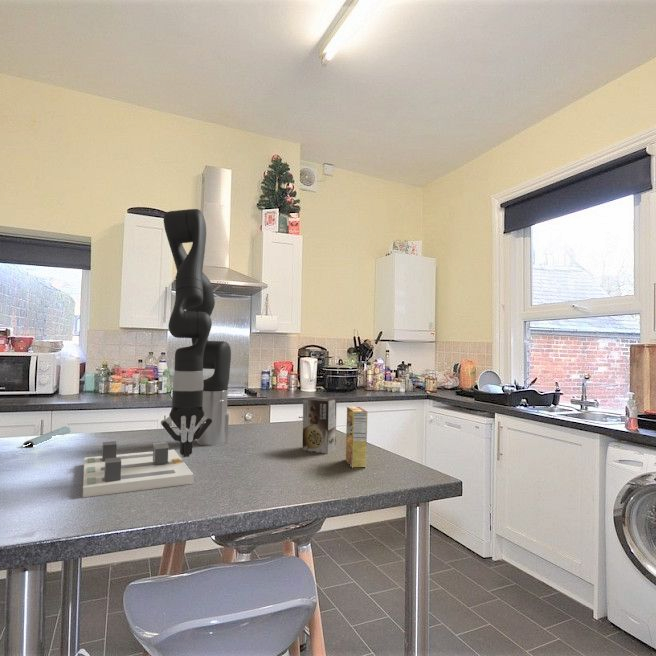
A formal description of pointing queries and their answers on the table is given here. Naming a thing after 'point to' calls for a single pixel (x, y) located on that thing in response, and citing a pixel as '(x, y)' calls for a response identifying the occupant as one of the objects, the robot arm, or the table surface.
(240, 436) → the table surface
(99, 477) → the breaker panel
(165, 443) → the block
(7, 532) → the table surface
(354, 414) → the candy box
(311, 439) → the cookie box
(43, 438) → the aluminum foil
